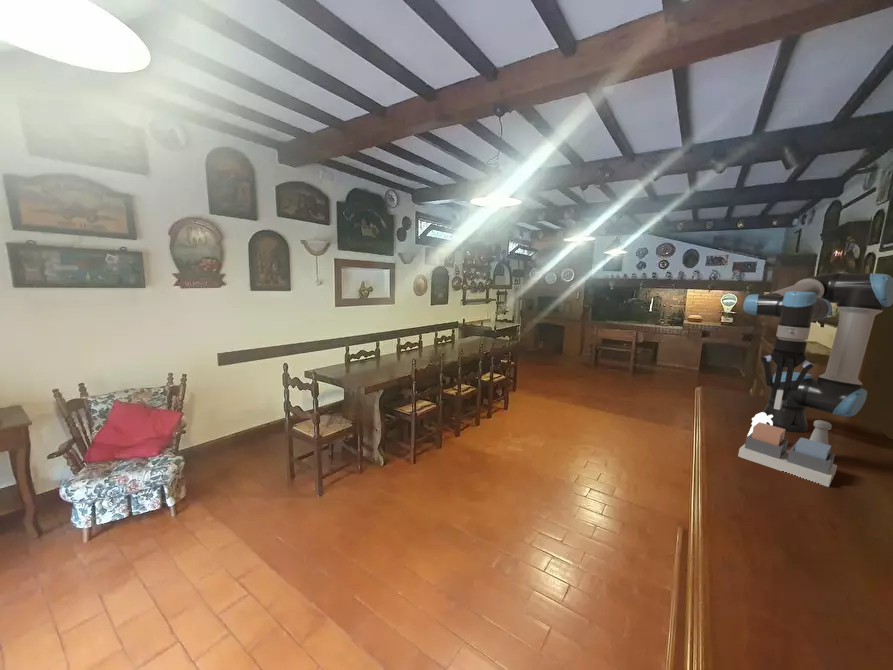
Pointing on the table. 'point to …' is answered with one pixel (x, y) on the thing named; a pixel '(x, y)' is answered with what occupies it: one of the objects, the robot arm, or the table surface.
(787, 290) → the robot arm
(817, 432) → the salt shaker
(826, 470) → the key housing
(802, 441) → the slate blue key
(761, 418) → the figurine
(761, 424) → the terracotta key
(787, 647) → the table surface
